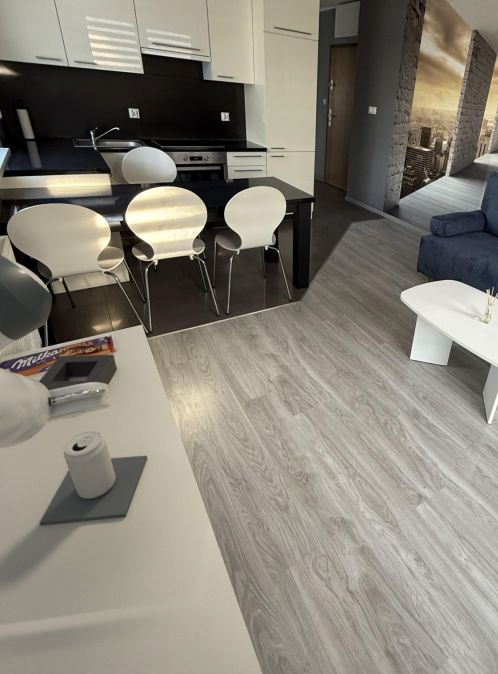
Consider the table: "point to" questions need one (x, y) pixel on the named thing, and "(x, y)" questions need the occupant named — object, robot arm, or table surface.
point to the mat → (104, 506)
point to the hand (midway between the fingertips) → (41, 414)
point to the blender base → (79, 370)
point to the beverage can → (89, 464)
